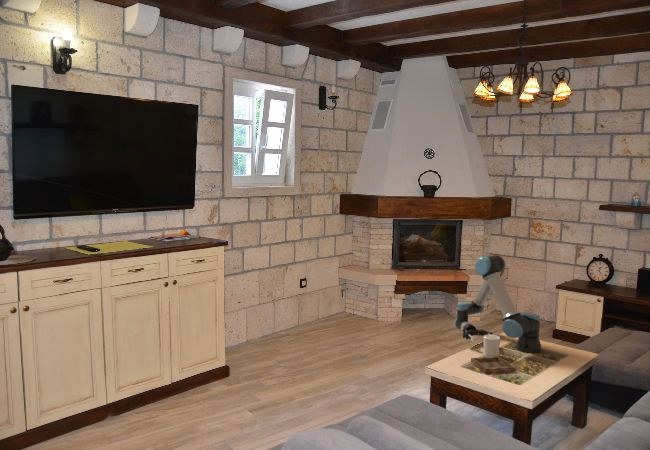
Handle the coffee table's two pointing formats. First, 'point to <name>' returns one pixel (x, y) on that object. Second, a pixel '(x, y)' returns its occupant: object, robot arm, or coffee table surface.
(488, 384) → the coffee table surface
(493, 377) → the coffee table surface
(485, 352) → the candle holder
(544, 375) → the coffee table surface
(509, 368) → the walnut tray
